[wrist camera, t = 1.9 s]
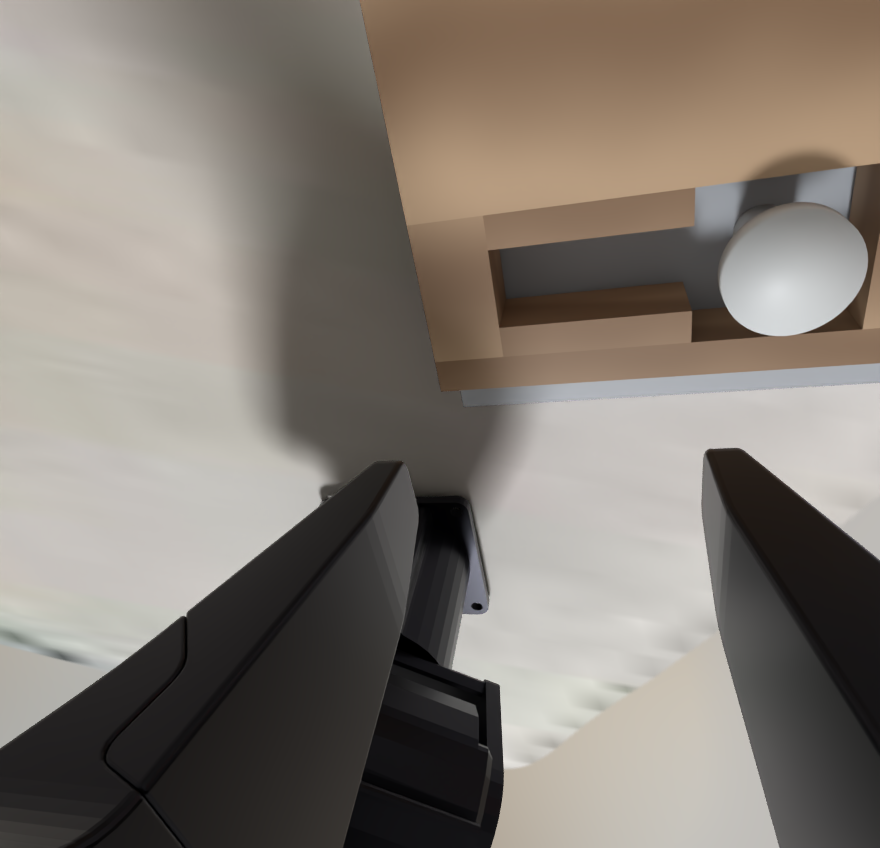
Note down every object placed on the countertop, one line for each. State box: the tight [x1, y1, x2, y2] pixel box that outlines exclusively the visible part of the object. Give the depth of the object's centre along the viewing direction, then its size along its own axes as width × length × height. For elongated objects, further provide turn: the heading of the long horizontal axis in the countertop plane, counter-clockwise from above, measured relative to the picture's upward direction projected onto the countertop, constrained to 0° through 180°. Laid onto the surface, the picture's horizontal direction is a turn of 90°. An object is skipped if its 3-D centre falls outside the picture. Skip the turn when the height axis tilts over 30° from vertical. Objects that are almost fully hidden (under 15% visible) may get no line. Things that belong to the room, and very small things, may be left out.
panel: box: [360, 0, 880, 392], centre depth 15 cm, size 16×12×2 cm
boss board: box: [460, 166, 880, 407], centre depth 14 cm, size 20×18×4 cm
